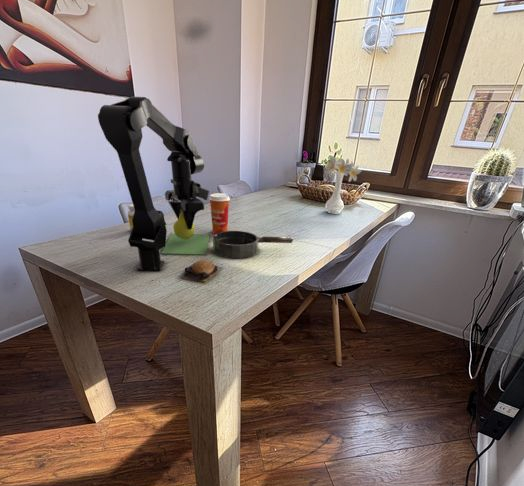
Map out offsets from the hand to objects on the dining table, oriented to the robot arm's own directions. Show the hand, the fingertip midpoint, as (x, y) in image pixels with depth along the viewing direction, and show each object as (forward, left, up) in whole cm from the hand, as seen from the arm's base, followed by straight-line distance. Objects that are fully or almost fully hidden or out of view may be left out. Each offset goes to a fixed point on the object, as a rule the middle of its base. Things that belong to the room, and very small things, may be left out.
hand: (185, 226), depth 105 cm
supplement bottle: (+13, +20, -7) cm, 25 cm away
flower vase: (+52, -68, -7) cm, 86 cm away
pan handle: (-5, -30, -3) cm, 31 cm away
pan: (-5, -17, -6) cm, 19 cm away
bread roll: (-24, -7, -7) cm, 26 cm away
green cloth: (0, 0, -6) cm, 6 cm away
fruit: (-1, +1, -4) cm, 5 cm away
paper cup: (+14, -11, -7) cm, 19 cm away
